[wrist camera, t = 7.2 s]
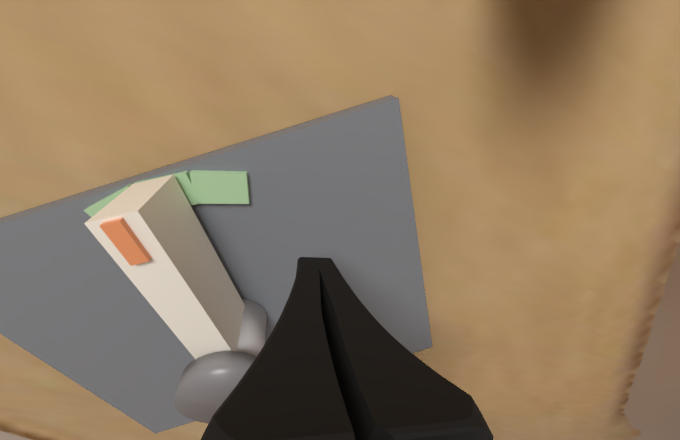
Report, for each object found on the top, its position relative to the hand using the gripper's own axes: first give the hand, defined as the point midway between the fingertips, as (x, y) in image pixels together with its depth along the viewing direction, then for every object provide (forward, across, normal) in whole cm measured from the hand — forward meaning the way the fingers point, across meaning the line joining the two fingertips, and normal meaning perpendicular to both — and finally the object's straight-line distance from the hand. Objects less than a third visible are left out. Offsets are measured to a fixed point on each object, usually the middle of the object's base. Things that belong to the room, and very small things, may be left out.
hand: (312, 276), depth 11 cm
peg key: (+3, +5, +3) cm, 6 cm away
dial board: (+4, +3, +6) cm, 8 cm away
